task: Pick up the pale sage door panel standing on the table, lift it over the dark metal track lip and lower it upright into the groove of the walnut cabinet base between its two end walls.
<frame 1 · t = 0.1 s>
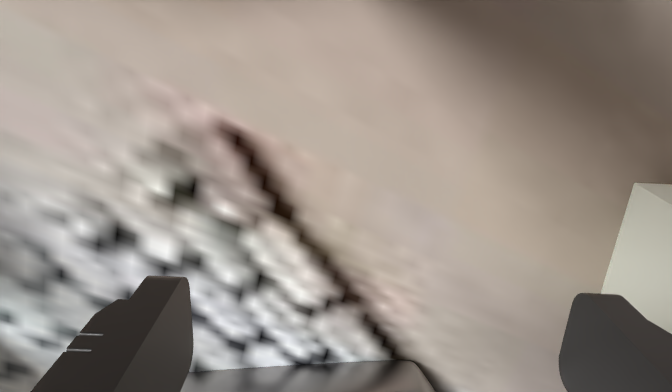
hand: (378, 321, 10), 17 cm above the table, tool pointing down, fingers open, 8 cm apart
door panel: (626, 272, 29), on the table
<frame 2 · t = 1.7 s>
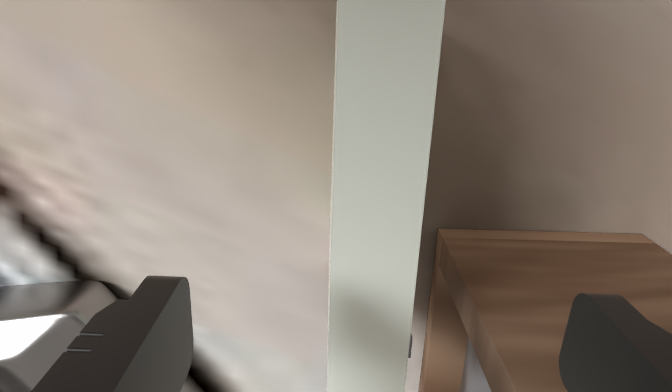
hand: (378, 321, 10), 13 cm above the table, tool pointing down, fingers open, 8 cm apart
door panel: (359, 145, 21), on the table
cabinet base: (507, 391, 27), on the table
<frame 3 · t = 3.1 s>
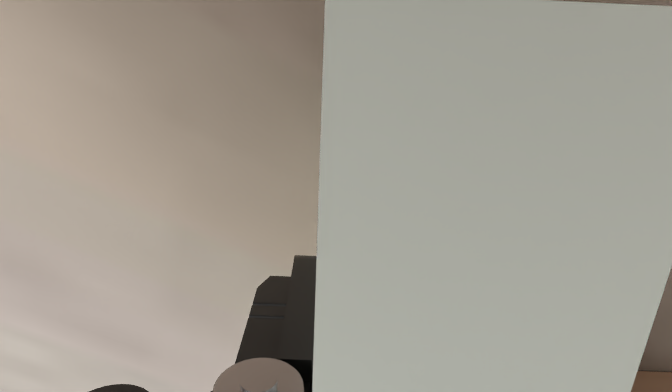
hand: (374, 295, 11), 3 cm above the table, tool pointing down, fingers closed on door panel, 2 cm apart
door panel: (368, 245, 13), on the table, touching gripper
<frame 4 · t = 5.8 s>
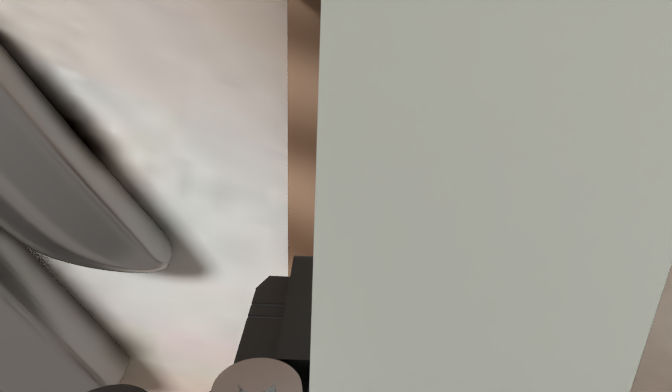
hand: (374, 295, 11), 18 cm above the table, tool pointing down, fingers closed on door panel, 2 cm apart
door panel: (367, 244, 13), point 15 cm above the table, touching gripper
cabinet base: (372, 149, 28), on the table
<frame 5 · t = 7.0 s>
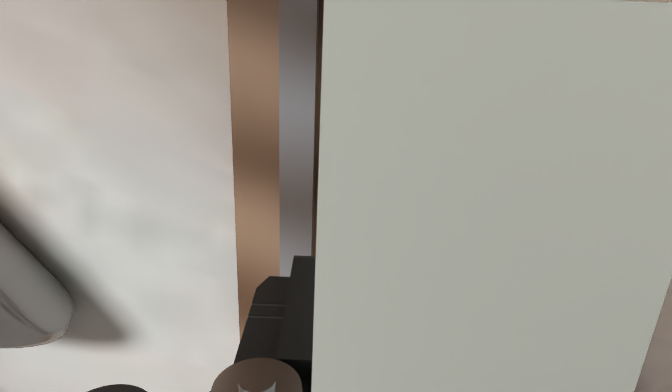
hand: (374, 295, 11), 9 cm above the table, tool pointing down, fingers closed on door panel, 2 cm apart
door panel: (368, 246, 13), point 7 cm above the table, touching gripper
cabinet base: (360, 169, 19), on the table
when the fingers open (4 cm above the table, at t = 8.1 s): door panel stays where it is, resting on cabinet base.
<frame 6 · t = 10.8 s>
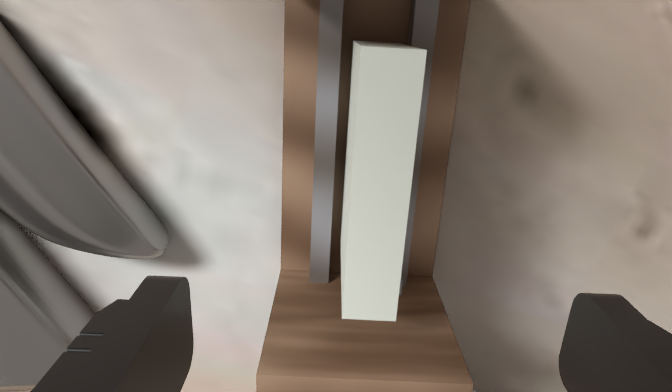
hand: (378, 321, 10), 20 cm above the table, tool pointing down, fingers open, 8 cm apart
door panel: (367, 146, 28), point 1 cm above the table, touching cabinet base
cabinet base: (365, 143, 29), on the table
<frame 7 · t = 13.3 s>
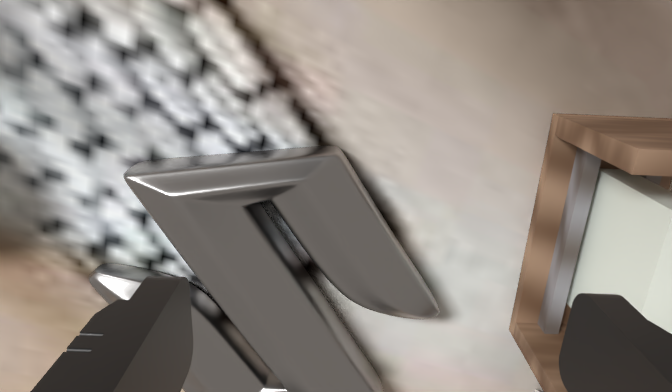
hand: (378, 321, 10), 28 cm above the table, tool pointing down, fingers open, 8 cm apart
door panel: (594, 238, 39), point 1 cm above the table, touching cabinet base
cabinet base: (587, 233, 40), on the table
emblem: (271, 279, 42), on the table
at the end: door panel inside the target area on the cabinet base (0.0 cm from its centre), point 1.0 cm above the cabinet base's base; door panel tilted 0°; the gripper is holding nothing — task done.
